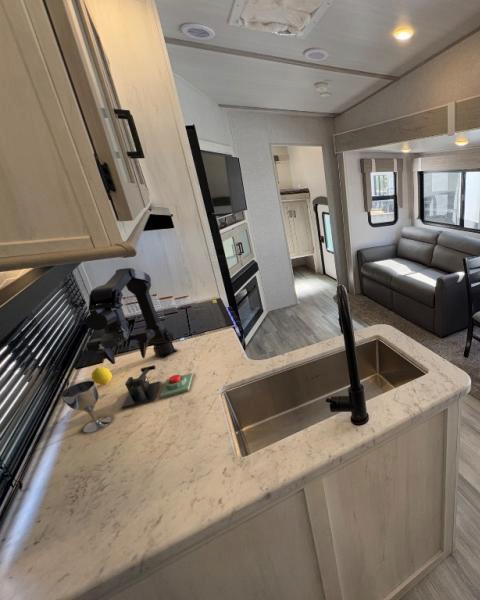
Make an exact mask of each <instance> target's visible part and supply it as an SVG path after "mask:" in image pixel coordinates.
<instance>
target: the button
mask: <svg viewBox="0 0 480 600" xmlns="http://www.w3.org/2000/svg"><path fill="white" fill-rule="evenodd" d="M180 375H181V374H174V375H171V376H170V377H169V378H168V379H169V382H170V384H173V383H177V382H179V381H180V380H181V378H180Z"/></svg>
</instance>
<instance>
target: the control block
mask: <svg viewBox="0 0 480 600" xmlns="http://www.w3.org/2000/svg"><path fill="white" fill-rule="evenodd" d="M179 375H180V378H181V380H180V381H179V382H177V383H173V384H170V382H169V378H167V379H166V380H165V382H164V384H163V387H162V390H161V392H160V395H159V398H160V399H165V398H167V397H171V396H174V395H175V396H176V395H178V394H183V393H186V392H189V391H190V387H191V383H192V381H193V377H194V374H193V373H188V374H182V375H181V374H179Z"/></svg>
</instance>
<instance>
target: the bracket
mask: <svg viewBox="0 0 480 600" xmlns="http://www.w3.org/2000/svg"><path fill="white" fill-rule="evenodd" d="M141 374H142V373H141ZM141 374H140V375H141ZM134 379H135V378H133V376H129V377H128V378H127V380H126V381H125V384H124V385H125V387H126V389H127V391H128V395H127V397H126V398H125V400H124V402H123V405H122V406H121V408H122V409H123V410H125V409H129V408H132V407H137V406H140V405H143V404H147V403H151V402H154V400H155V397H156V396H157V393H158V391H159V388H160V386H161V381H160V380H159V381H154V382H151V383H150V382H149V379H148V376H147V374H146V375H145V374H142V375H141V377H140V379H139V383H140V385H141V386H139V387H135V388H133V386H132V383H131V382H132V381H133V380H134Z"/></svg>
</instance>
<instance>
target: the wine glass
mask: <svg viewBox="0 0 480 600" xmlns="http://www.w3.org/2000/svg"><path fill="white" fill-rule="evenodd" d="M99 393H100V392H99V389H98V386H97V383H95V382H94V381H93V380H86V381H81V382H78V383H75V384H73V385H70V386H69V387H67V388H65V389H63V390H62V392H61V393H60V397H61V399H62V401H63V402H64V403H65V405H67V406H68V407H69V408H70V409H72V410H75V411H80V412H85V413H87V414H88V415H89V416H90V417H91V418H92V421H89V423H87V424H86V425H85V426H84V427H83V432H84V433H87V434H88V433H94V432H96V431H97V432H98V431H99V430H102V429H104V427H106V426H108V425H109V424H110V423H111V421H112V416H101V417H99V418H97V417H96V415H95V411H94V409H95V406H96V404H97V402H98V401H99V398H100V394H99Z"/></svg>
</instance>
